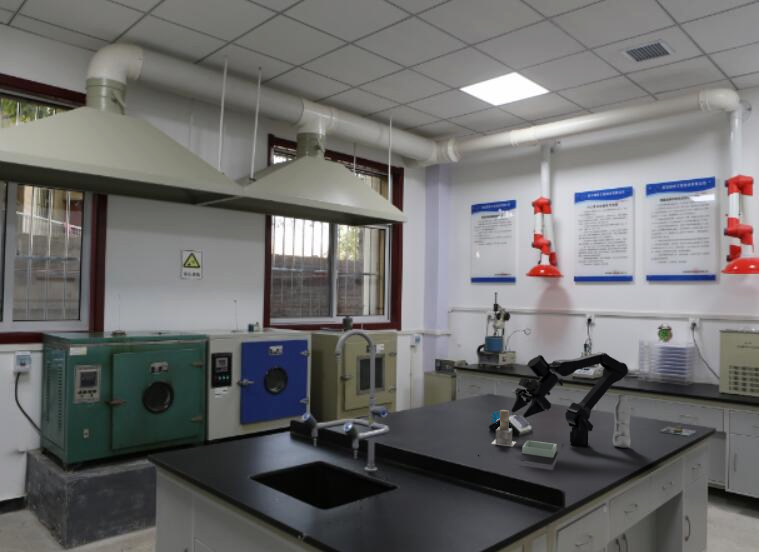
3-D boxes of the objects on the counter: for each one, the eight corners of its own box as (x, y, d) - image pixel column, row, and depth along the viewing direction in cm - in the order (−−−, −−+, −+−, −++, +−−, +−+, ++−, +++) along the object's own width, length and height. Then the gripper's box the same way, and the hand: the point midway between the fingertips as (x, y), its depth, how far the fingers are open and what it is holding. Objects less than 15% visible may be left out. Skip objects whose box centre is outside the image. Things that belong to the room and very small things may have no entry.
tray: (556, 454, 205) (556, 444, 205) (553, 461, 195) (553, 450, 195) (526, 450, 209) (527, 440, 209) (522, 457, 199) (522, 446, 200)
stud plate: (516, 445, 215) (516, 431, 216) (512, 450, 208) (512, 435, 208) (495, 442, 219) (495, 428, 219) (490, 447, 211) (491, 433, 211)
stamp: (511, 442, 215) (512, 410, 215) (509, 445, 210) (510, 412, 210) (498, 440, 217) (499, 408, 217) (495, 443, 212) (496, 411, 212)
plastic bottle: (609, 446, 219) (610, 395, 220) (616, 444, 224) (617, 393, 225) (626, 450, 215) (627, 397, 216) (633, 447, 220) (634, 396, 221)
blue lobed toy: (497, 429, 235) (489, 409, 242) (489, 437, 239) (482, 416, 246) (518, 431, 240) (510, 411, 247) (510, 438, 243) (503, 419, 250)
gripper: (520, 367, 226) (493, 395, 223) (544, 373, 208) (516, 404, 205) (536, 387, 228) (511, 414, 225) (563, 395, 210) (535, 425, 207)
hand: (517, 414), depth 215 cm, fingers open, 9 cm apart
